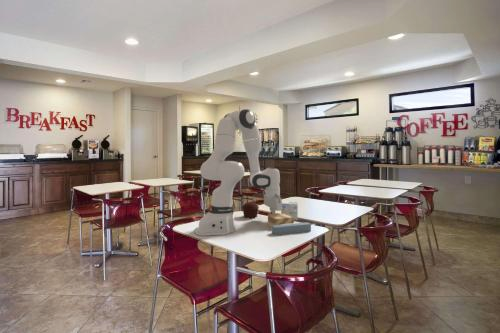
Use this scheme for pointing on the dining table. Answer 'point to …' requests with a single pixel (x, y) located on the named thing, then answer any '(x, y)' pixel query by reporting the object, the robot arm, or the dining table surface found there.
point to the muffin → (250, 210)
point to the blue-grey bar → (291, 228)
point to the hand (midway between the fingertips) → (272, 214)
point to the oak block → (280, 219)
